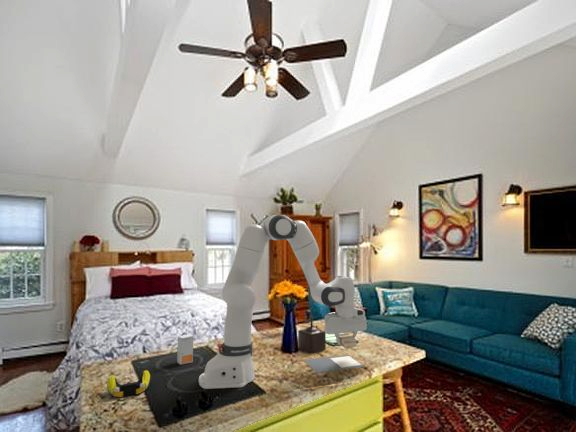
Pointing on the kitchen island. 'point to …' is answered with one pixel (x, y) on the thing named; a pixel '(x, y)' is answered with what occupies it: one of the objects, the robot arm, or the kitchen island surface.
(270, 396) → the kitchen island surface
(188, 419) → the kitchen island surface
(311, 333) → the manual coffee grinder
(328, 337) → the dish towel
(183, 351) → the skincare box
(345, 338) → the tan rectangular block
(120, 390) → the gaming controller
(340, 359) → the mat
